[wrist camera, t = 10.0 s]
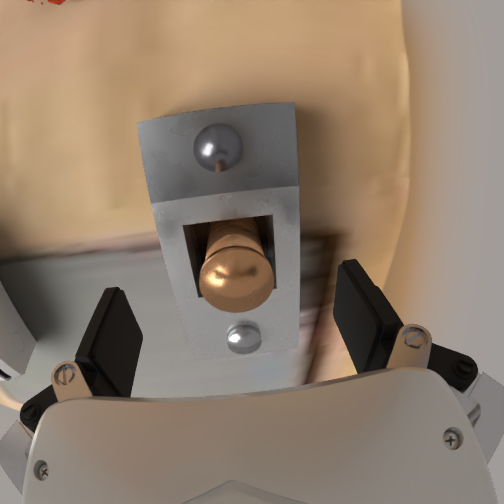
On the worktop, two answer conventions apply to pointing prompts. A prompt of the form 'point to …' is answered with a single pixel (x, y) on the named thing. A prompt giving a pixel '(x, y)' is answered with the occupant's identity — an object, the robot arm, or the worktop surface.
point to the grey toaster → (13, 340)
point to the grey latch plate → (227, 215)
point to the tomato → (53, 1)
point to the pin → (235, 267)
